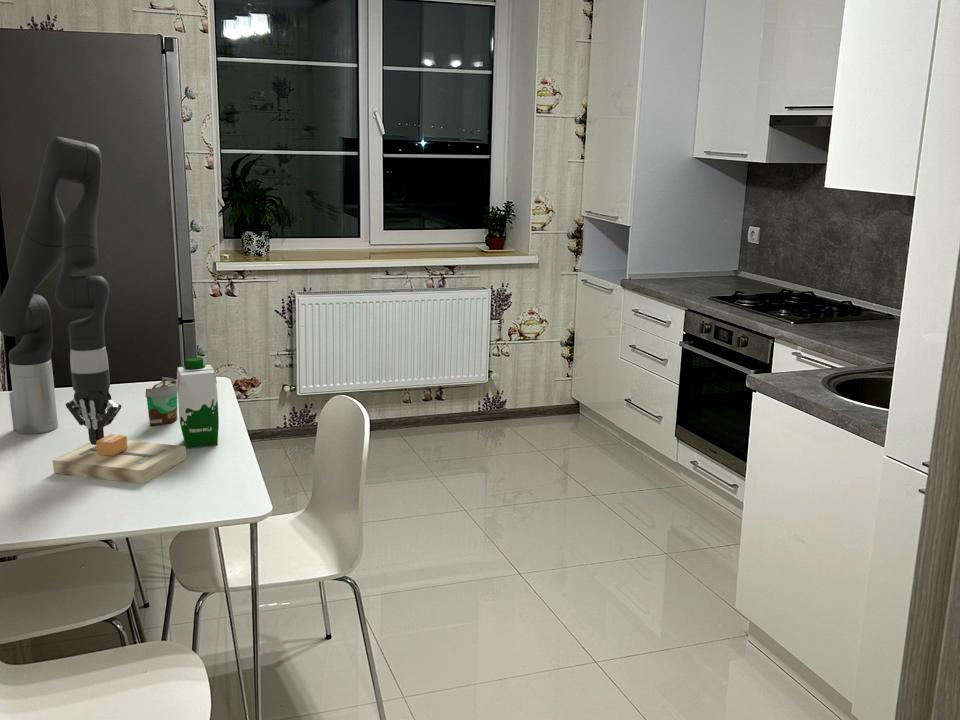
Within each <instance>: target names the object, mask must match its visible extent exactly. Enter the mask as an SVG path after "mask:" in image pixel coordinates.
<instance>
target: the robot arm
mask: <svg viewBox="0 0 960 720" xmlns="http://www.w3.org/2000/svg"><path fill="white" fill-rule="evenodd" d="M102 158H103V157H102V153H101V151H100V148H99V147H98V146H96V145H95V144H92V143H89V142H85V141H80V140H76V139H71V138H67V137H61V136H54V137H51V139H50V140H49V142H48V143H47V146H46V149H45V151H44V155H43V158H42V165H41V168H40V173H39V178H38V183H37V188H36V193H35V197H34V199H33V203H32V206H31V209H30V213H29V216H28V218H27V221H26V224H25V227H24V230H23V233H22V237H21V240H20V244H19V248H18V252H17V255H16V258H15V261H14V264H13V266H12V270H11V273H10V276H9V277H8V281H7V283H6V285H5V288H4V289H3V292H2V293H1V296H0V333H1V334H3V335H4V336H7V337H20V336H22V338H21V340H20V341H19V343H17V344H16V345H15V346H13V348H11V349H10V350H9V352H8V363H9V365H8V366H9V371H10V372H9V373H10V380H11V388H12V391H10V392H9V402H10V403H9V405H10V412H11V420H12V421H11V423H12V430H13V431H17V432H18V433H21V434H24V435H25V434H26V435H27V434H32V435H33V434H42V433H46V432H50V431H53V430H56V429H57V428H58V427H59V421H58V412H57V401H56V393H55V392H56V390H55V383H54V382H55V381H54V374H53V363H52V351H53V348H54V347H53V345H54V341H53V340H54V339H53V337H54V336H53V319H52V312H51V307H50V306H49V302H48V301H47V300H46V298H45V297H43V296H42V295H41V294H36V293H35V292H36V290H37V289H38V287H39V286H41V285H42V283H43V282H44V281H45V280H46V279H47V278H48V276H50V275H51V273H52V272H53V271H54V270H55V269H56V268H57V267H58V265H59V264H60V262H61V261H62V263H61V268H60V272H59V275H58V279H57V282H56V285H55V290H54V296H55V297H54V298H55V301H56V303H57V304H58V306H59V307H60V308H61V309H63V310H66V311H69V310H70V311H76V310H93V311H92V313H91V314H90V315H89V316H87V317H85V318H80V319H76V320H73V321H71V322H70V323H69V324H68V329H67V331H68V338H69V349H70V351H69V364H70V373H71V374H70V375H71V385H72V390H73V392H74V394H73V399H72V400H70V401H68V402H66V403H65V407H66V409H67V410H68V411H69V412H70V414H71V415H72V416H73V418H74V419H75V421H76V422H77V423H78V424H79V425H80V426H84V427H86V429H87V431H88V432H87V433H88V440H89V443H90V442H91V444H92V445H96V441H97V440H99V439H101V438H104V437H105V435H104V434H105V433H104V428H105V427H107V426H109V425H111V424H112V422H113V421H114V419H115V418H116V417H117V415H118V413H119V412H120V410H121V409H122V405H121V404H120V403H117V404H116V403H115V402H114V401H113V399H112V396H111V394H110V387H111V381H110V380H111V378H110V369H109V357H108V353H107V352H108V351H107V348H106V339H105V338H106V337H105V316H106V310H107V307H108V303H109V299H110V285H109V283H108V281H107V279H106V278H105V277H103V276H100V275H82V276H81V275H80V276H76V275H78V274H79V273H83V272H86V271H90V270H92V269H94V268H96V267H97V266H98V264H99V245H98V215H99V206H100V197H101V196H100V195H101V184H102V173H103V160H102ZM60 181H63V182H69V183H73V184H79V185H82V195H81V198H80V200H79V202H78V203H77V205H76V206H75V207H74V209H73V210H72V211H71V212H70V214H69V215H68V216H67V219H66V218H65V215H64V213H63V211H62V208H61V206H60V203H59V199H58V196H57V195H58V194H57V192H58V191H57V189H58V185H59V182H60Z"/></svg>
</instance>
